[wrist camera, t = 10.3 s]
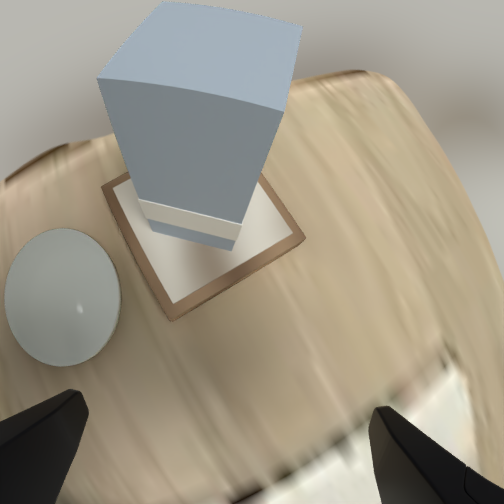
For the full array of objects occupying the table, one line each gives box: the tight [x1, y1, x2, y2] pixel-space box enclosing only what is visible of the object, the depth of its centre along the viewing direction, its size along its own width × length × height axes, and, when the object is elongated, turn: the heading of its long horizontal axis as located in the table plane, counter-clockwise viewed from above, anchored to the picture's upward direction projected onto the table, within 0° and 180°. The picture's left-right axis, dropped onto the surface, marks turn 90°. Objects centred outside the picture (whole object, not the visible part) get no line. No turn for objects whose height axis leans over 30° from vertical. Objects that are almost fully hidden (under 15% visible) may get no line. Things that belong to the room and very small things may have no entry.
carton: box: [97, 2, 303, 252], centre depth 13 cm, size 5×5×12 cm
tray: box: [101, 172, 306, 322], centre depth 20 cm, size 10×10×2 cm
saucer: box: [4, 228, 121, 366], centre depth 17 cm, size 9×9×2 cm
